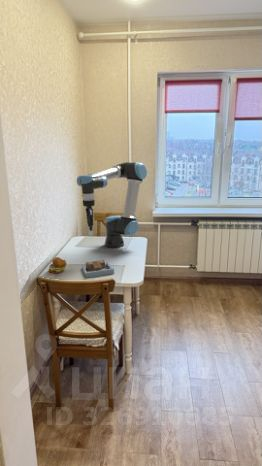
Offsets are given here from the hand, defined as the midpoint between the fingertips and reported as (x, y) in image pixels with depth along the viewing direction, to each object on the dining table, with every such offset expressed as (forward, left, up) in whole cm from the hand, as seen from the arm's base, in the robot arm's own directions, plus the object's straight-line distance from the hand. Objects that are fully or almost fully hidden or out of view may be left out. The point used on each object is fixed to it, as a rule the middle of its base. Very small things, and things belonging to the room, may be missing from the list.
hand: (91, 234), depth 213 cm
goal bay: (0, +15, -20) cm, 25 cm away
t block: (0, +14, -20) cm, 24 cm away
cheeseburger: (+24, +6, -20) cm, 32 cm away
